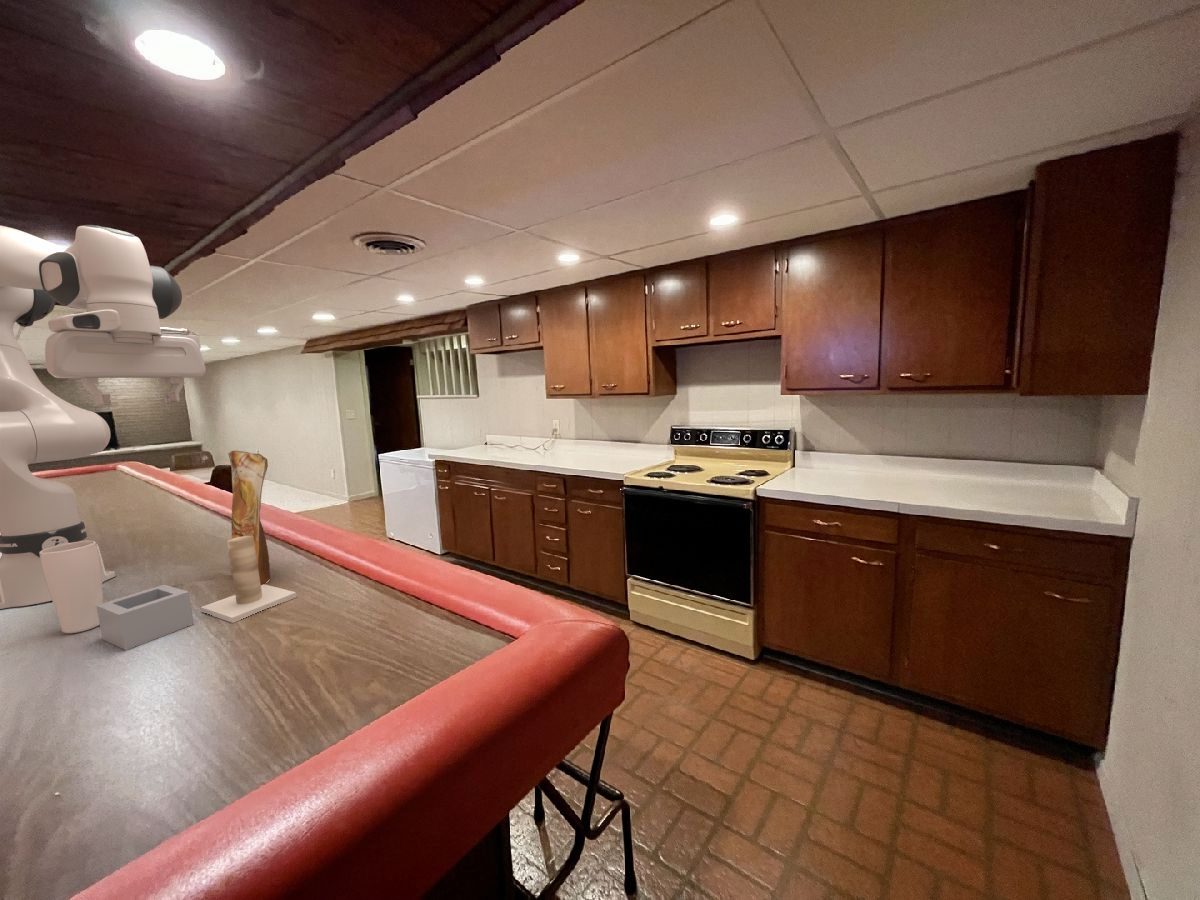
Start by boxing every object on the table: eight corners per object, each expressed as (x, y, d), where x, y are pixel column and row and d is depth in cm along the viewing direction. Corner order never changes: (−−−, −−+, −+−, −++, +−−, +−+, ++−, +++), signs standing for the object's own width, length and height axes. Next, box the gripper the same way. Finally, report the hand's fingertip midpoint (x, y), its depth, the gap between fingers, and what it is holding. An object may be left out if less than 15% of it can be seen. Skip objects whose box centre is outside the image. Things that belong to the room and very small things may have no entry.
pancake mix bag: (262, 563, 113) (245, 448, 110) (286, 581, 101) (268, 452, 97) (227, 572, 108) (208, 452, 105) (248, 593, 96) (227, 457, 92)
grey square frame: (102, 639, 79) (95, 605, 78) (169, 615, 87) (164, 584, 86) (125, 650, 75) (118, 614, 74) (194, 624, 83) (188, 591, 82)
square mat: (201, 612, 88) (200, 607, 88) (264, 588, 98) (264, 584, 97) (233, 623, 83) (232, 617, 83) (296, 597, 93) (296, 592, 92)
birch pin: (232, 602, 89) (222, 541, 88) (255, 593, 93) (246, 534, 91) (243, 605, 87) (234, 543, 86) (266, 596, 91) (257, 536, 89)
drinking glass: (74, 638, 80) (57, 553, 78) (45, 636, 81) (27, 552, 79) (121, 619, 87) (106, 540, 85) (93, 617, 88) (78, 539, 86)
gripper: (189, 331, 93) (200, 401, 95) (33, 320, 75) (50, 407, 77) (206, 328, 90) (217, 400, 92) (47, 316, 72) (65, 406, 74)
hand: (140, 403), depth 84 cm, fingers open, 8 cm apart
